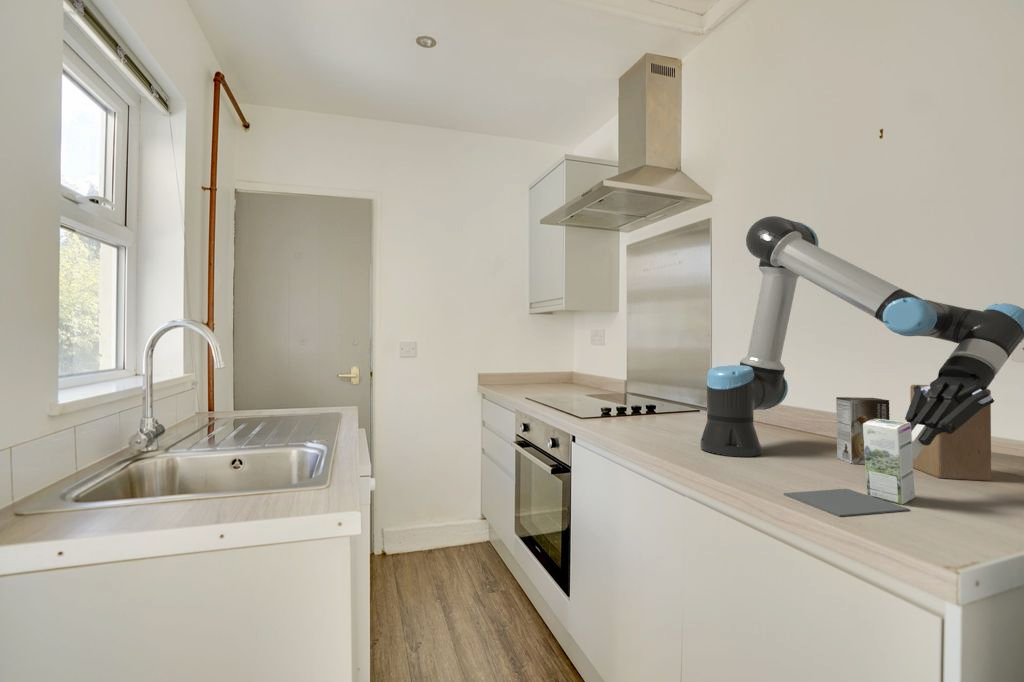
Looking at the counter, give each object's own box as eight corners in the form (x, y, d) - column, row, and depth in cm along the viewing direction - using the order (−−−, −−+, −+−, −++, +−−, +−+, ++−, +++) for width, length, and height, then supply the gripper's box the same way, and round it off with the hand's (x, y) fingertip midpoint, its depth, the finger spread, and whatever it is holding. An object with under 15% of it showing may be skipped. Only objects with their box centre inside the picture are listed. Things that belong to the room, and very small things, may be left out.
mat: (846, 490, 93) (846, 488, 93) (909, 510, 81) (909, 509, 81) (783, 494, 90) (783, 493, 90) (839, 516, 78) (839, 515, 78)
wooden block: (992, 481, 100) (991, 389, 100) (938, 478, 102) (938, 387, 102) (958, 469, 110) (957, 385, 110) (909, 467, 112) (909, 384, 112)
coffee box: (873, 459, 120) (873, 397, 120) (891, 465, 113) (891, 400, 113) (835, 458, 121) (835, 396, 121) (851, 464, 114) (851, 399, 114)
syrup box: (916, 497, 87) (912, 421, 86) (902, 505, 84) (897, 427, 84) (880, 489, 92) (876, 417, 91) (865, 497, 89) (861, 422, 89)
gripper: (1023, 382, 87) (956, 476, 83) (944, 378, 100) (883, 459, 95) (1001, 354, 86) (933, 447, 82) (925, 353, 98) (862, 434, 94)
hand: (906, 454), depth 89 cm, fingers closed
